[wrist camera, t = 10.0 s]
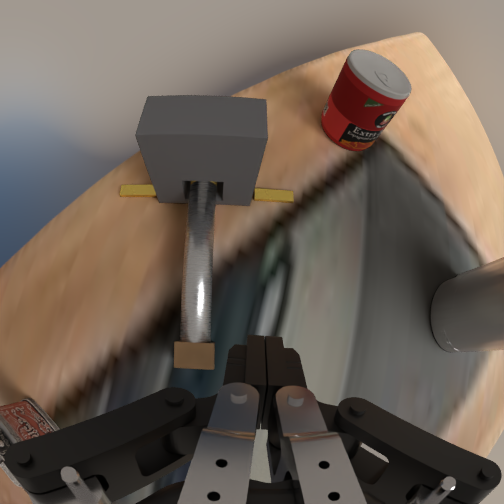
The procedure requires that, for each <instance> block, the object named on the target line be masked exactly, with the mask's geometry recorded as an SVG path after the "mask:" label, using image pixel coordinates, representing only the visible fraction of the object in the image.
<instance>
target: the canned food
mask: <svg viewBox="0 0 504 504" xmlns="http://www.w3.org/2000/svg"><path fill="white" fill-rule="evenodd" d="M410 93H411V84H410V82H409V80H408V78H407V77H406V75H405V74H404V73H403V72H402V71H401V70H400V69H399V68H398V67H397V66H396V65H395V64H393V63H392V62H391V61H389V60H388V59H386V58H385V57H383V56H381V55H379V54H376V53H374V52H371V51H367V50H359V49H358V50H354V51H352V52H351V53H350V54H349V56H348V57H347V59H346V62H345V63H344V65H343V68H342V70H341V72H340V74H339V76H338V79H337V81H336V83H335V85H334V87H333V90H332V92H331V94H330V96H329V98H328V100H327V103H326V105H325V107H324V109H323V112H322V119H321V123H322V127H323V129H324V131H325V133H326V134H327V136H328V137H329V138H330V139H331V140H332V141H334V142H335V143H336V144H338V145H339V146H341V147H343V148H345V149H348V150H351V151H362V150H365V149H366V148H368V147H370V146H371V145H372V144H373V143H374V141H375V140H376V139H377V138H378V136H379V135H380V134H381V132H382V131H383V130H384V128H385V127H386V126H387V125H388V123H389V122H390V121H391V119H392V118H393V117H394V115H395V114H396V113H397V111H398V110H399V109H400V107H401V106H402V105H403V103H404V102H405V100H406V99H407V98H408V96H409V94H410Z"/></svg>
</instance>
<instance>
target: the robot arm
mask: <svg viewBox="0 0 504 504" xmlns="http://www.w3.org/2000/svg"><path fill="white" fill-rule="evenodd" d="M431 325H432V331H433V334H434V337H435V339H436V341H437V343H438V344H439V345H440V347H441V348H443V349H444V350H445V351H448V352H477V351H492V350H504V257H503V258H501V259H498V260H496V261H493V262H490V263H488V264H485V265H483V266H480V267H477V268H475V269H472V270H469V271H466V272H464V273H461V274H458V275H457V277H455V278H452V279H449V280H447V281H445V282H443V283H442V284H441V285H440V286H439V288H438V289H437V291H436V293H435V295H434V297H433V301H432V305H431ZM260 423H261V429H266V430H268V439H267V443H266V446H267V453H268V461H269V468H270V475H271V483H264V482H260V481H256V480H252V479H250V471H251V463H252V456H253V448H254V440H255V435H256V429H260ZM362 443H364V444H366V445H367V446H369V447H371V448H372V449H374V450H376V451H377V452H379V453H381V454H382V455H384V456H385V457H387V459H388V461H389V463H388V462H385V461H384V460H382V459H380V458H378V457H377V456H375V455H374V454H372V453H370V452H368V451H367V450H365V449H364V448H362V447H360V446H361V444H362ZM4 460H5V464H6V467H7V468H8V470H9V471H10V472H11V473H12V475H13V476H14V477H15V478H16V480H17V481H18V483H19V484H20V486H21V487H22V488H23V489H24V490H25V491H26V492H27V493H28V495H29V496H30V499H31V501H32V503H33V504H112V502H114V501H116V500H118V499H120V498H122V497H124V496H127V495H129V494H131V493H133V492H135V491H137V490H139V489H141V488H143V487H145V486H147V485H148V484H150V483H152V482H154V481H156V480H158V479H160V478H161V477H163V476H165V475H167V474H169V473H170V472H172V471H174V470H175V469H177V468H179V467H180V466H182V465H184V464H185V463H187V462H189V461H190V460H192V462H191V465H190V468H189V471H188V474H187V477H186V480H185V481H182V482H177V483H174V484H171V485H169V486H166V487H164V488H162V489H160V490H158V491H157V492H155V493H153V494H152V495H150V496H148V497H147V498H145V499H143V500H141V501H140V502H138V503H136V504H479V503H480V502H481V501H482V500H483V499H484V498H485V497H486V496H487V495H488V494H489V493H490V492H491V491H492V490H493V489H494V488H495V487H496V486H497V485H498V484H499V483H500V480H501V470H500V468H499V467H498V465H497V464H496V463H494V462H493V461H491V460H488V459H486V458H483V457H481V456H479V455H476V454H474V453H472V452H469V451H467V450H465V449H462V448H460V447H458V446H456V445H454V444H451V443H449V442H447V441H445V440H443V439H441V438H438V437H436V436H434V435H432V434H430V433H428V432H426V431H424V430H422V429H420V428H418V427H416V426H414V425H412V424H410V423H408V422H406V421H404V420H402V419H400V418H399V417H397V416H395V415H393V414H391V413H389V412H387V411H385V410H384V409H382V408H380V407H378V406H376V405H374V404H373V403H371V402H369V401H367V400H365V399H362V398H356V397H352V398H347V399H344V400H342V401H341V402H340V403H339V405H338V406H334V405H329V404H324V403H321V402H319V401H317V400H316V398H315V396H314V394H313V393H312V392H311V391H310V390H308V389H307V385H306V381H305V377H304V372H303V369H302V364H301V360H300V356H299V354H298V353H297V352H296V351H295V350H294V349H293V348H284V346H283V340H282V337H274V336H265V341H264V336H259V335H248V338H247V345H236V344H235V345H234V346H233V347H232V348H231V349H230V350H229V353H228V359H227V365H226V371H225V377H224V383H223V387H221V388H220V390H219V392H218V393H217V394H216V395H214V396H211V397H207V398H198V399H195V397H194V395H193V394H192V393H191V392H189V391H187V390H185V389H182V388H176V387H171V388H165V389H163V390H160V391H158V392H156V393H153V394H151V395H149V396H147V397H144V398H142V399H140V400H137V401H135V402H133V403H130V404H128V405H125V406H123V407H120V408H118V409H115V410H113V411H110V412H108V413H105V414H102V415H100V416H97V417H95V418H92V419H89V420H86V421H84V422H81V423H78V424H75V425H72V426H69V427H66V428H63V429H60V430H57V431H54V432H51V433H48V434H45V435H41V436H38V437H34V438H31V439H28V440H24V441H20V442H17V443H14V444H12V445H11V446H10V447H9V448H8V449H7V451H6V453H5V456H4Z"/></svg>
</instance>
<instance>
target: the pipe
mask: <svg viewBox="0 0 504 504" xmlns="http://www.w3.org/2000/svg"><path fill="white" fill-rule="evenodd" d="M216 190H217V182H213V181H191V185H190V194H189V203H188V213H187V224H186V236H185V248H184V262H183V279H182V298H181V326H180V341H175V342H174V368H190V369H214V356H215V342H211V296H212V266H213V243H214V224H215V206H216ZM156 196H157V195H156V192H155V190H154V187H153V185H122V186H121V190H120V197H156ZM254 200H256V201H272V202H286V203H293V202H294V200H293V191H286V190H273V189H259V188H255V189H254Z"/></svg>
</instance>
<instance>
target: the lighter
mask: <svg viewBox="0 0 504 504" xmlns="http://www.w3.org/2000/svg"><path fill="white" fill-rule="evenodd" d="M57 430H60V429H59V428H58V427H57V425H56V424H55V423H54V421H53V420H52V419H51V418H50V417H49V416H48V415H47V413H46V412H45V411H44V410H43V409H42V408H41V407H40V406H39V405H38V404H37V403H36V402H35V401H34V400H33V399H31V398H26V399H22V400H21V401H20V402H17V403H13V404H9V405H4V406H0V466H1V468H2V469H3V470H4V472H5V473H6V474H7V475H8V476H9V478H10V479H11V480H12V481H13V482H14V484H15V485H17V486H19V487H21V486H20V484H19V483H18V481H17V480H16V478H15V477H14V476H13V475H12V473H11V472H10V471H9V470H8V468H7V467H6V464H5V460H4V456H5V453H6V451H7V449H8V448H9V447H10V446H11V445H12V444H14V443H17V442H20V441H24V440H28V439H31V438H34V437H38V436H41V435H45V434H48V433H51V432H54V431H57Z"/></svg>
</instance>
